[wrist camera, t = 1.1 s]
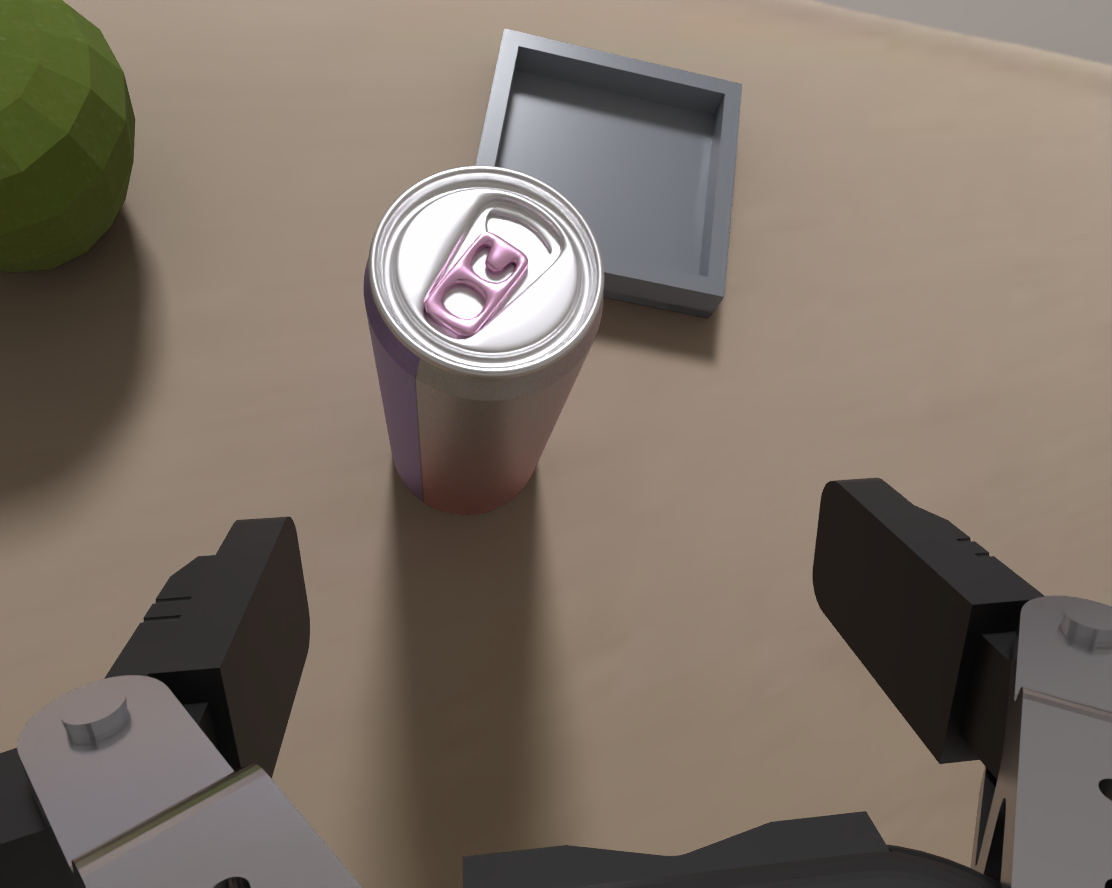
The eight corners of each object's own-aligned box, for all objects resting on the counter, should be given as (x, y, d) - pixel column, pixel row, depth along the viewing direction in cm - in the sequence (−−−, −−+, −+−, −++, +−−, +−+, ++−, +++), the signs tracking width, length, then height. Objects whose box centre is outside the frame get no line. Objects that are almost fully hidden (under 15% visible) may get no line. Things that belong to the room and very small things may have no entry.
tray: (458, 267, 35) (459, 242, 33) (500, 62, 39) (504, 28, 37) (708, 318, 36) (723, 296, 34) (726, 114, 40) (742, 84, 38)
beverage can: (362, 464, 32) (305, 285, 18) (448, 355, 34) (458, 115, 20) (483, 547, 32) (523, 433, 18) (563, 432, 34) (657, 246, 19)
